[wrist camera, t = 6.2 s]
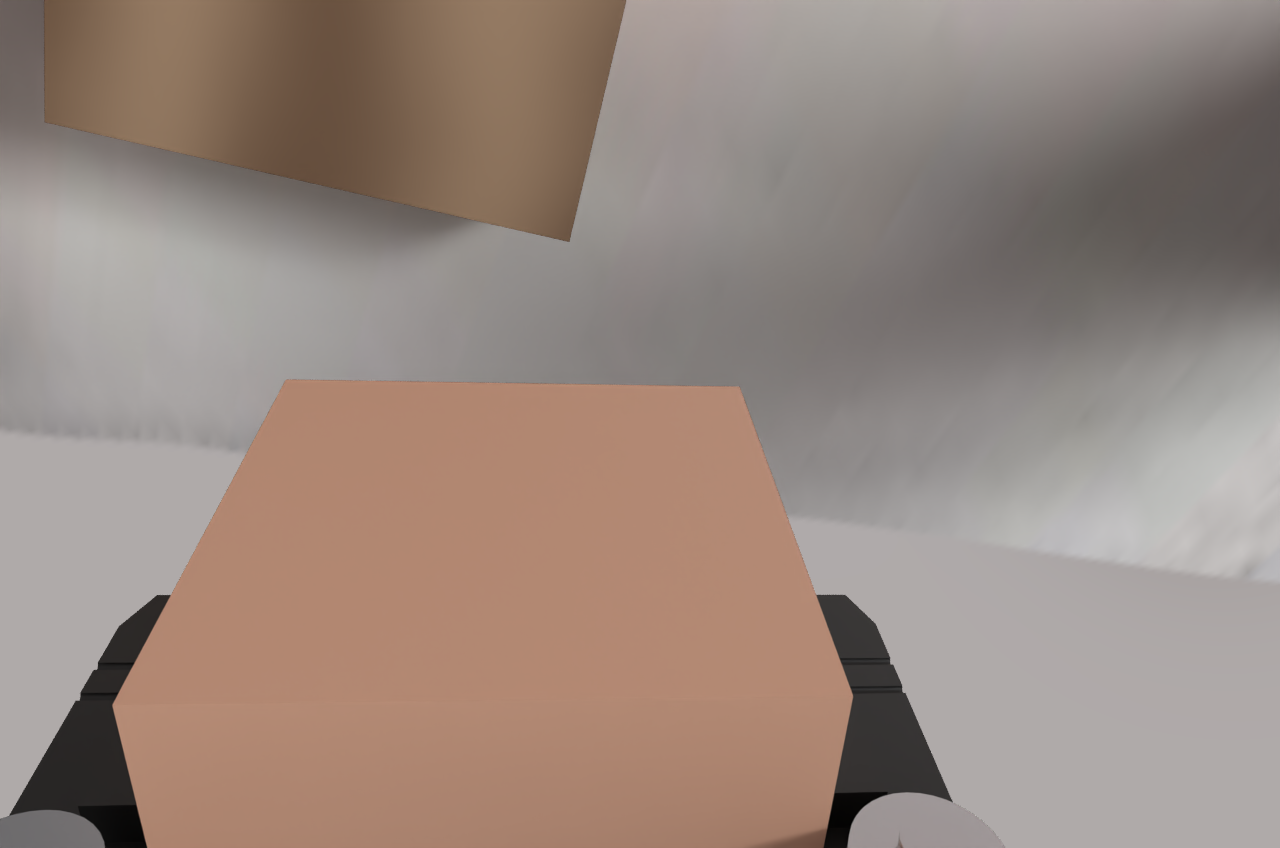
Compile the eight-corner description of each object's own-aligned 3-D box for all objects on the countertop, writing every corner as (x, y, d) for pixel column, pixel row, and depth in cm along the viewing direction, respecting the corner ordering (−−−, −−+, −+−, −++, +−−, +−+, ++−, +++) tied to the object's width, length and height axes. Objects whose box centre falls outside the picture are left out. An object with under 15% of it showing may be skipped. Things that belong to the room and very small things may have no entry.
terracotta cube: (738, 386, 12) (853, 695, 7) (703, 717, 14) (773, 1104, 10) (286, 378, 11) (113, 704, 7) (326, 723, 14) (216, 1132, 9)
